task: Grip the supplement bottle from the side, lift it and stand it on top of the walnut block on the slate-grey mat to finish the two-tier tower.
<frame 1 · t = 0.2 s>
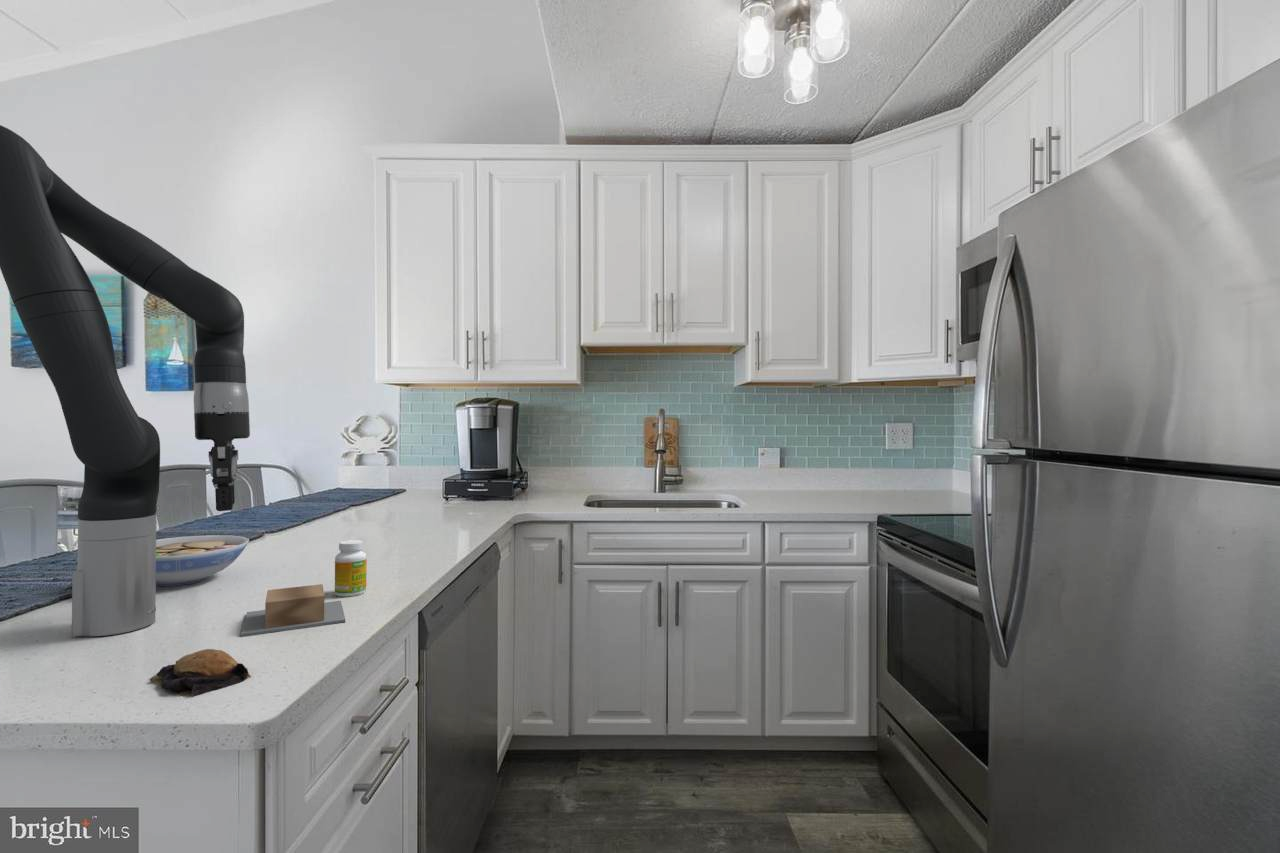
hand: (225, 507, 100), 18 cm above the countertop, tool pointing down, fingers open, 8 cm apart
ramen bowl: (181, 582, 120), on the countertop
supplement bottle: (350, 594, 113), on the countertop
mat: (295, 618, 98), on the countertop
bread roll: (202, 683, 75), on the countertop
walnut block: (295, 617, 97), resting on mat
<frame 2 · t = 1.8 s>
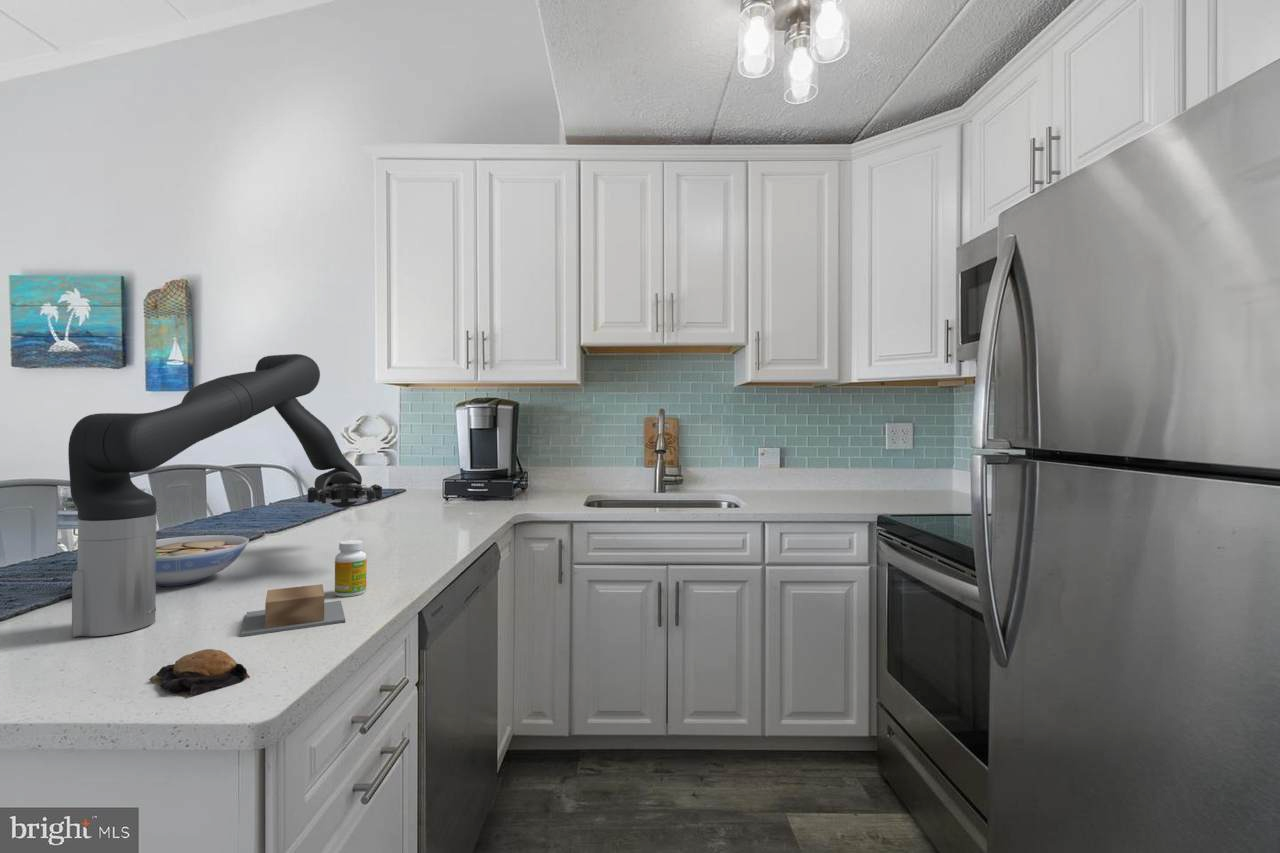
hand: (347, 497, 122), 17 cm above the countertop, tool horizontal, fingers open, 8 cm apart
nothing on the countertop moved.
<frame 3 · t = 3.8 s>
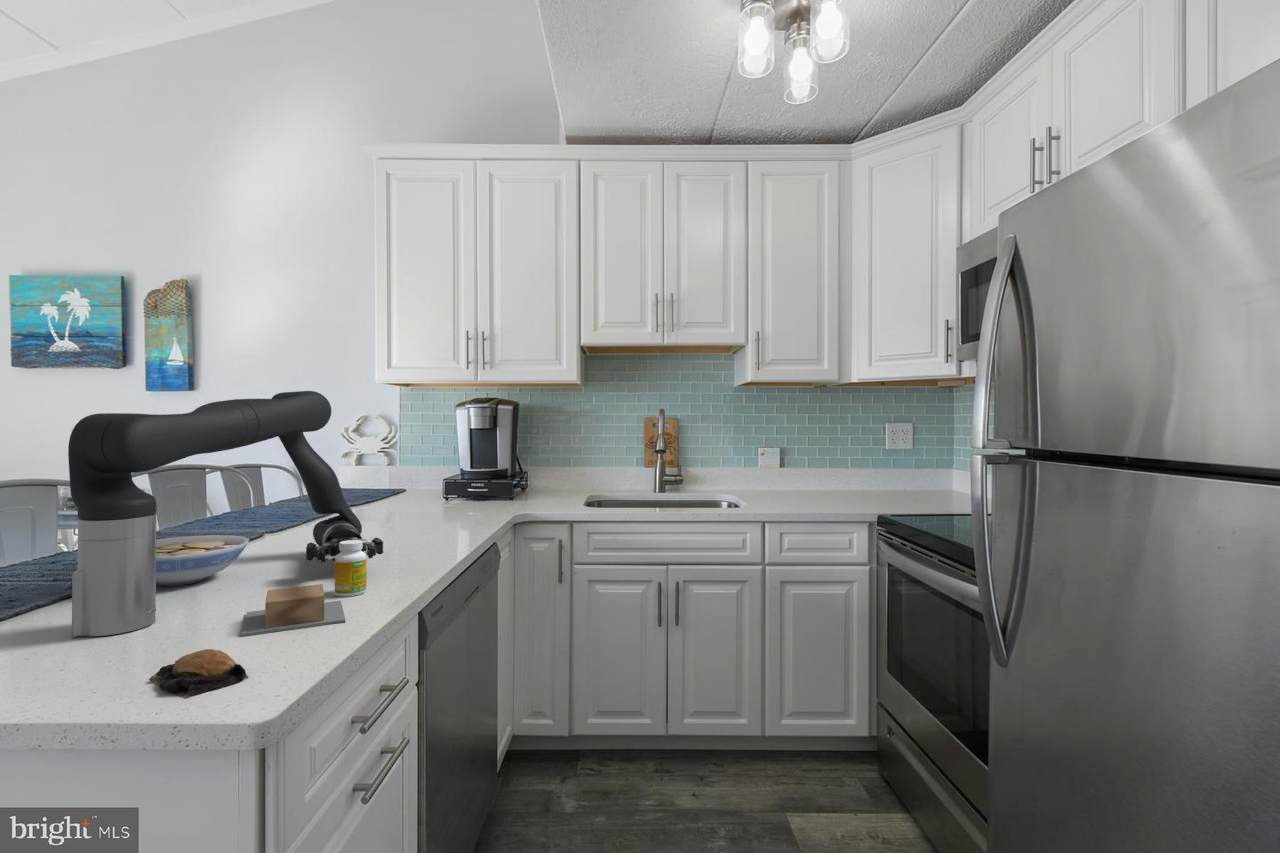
hand: (347, 555, 118), 6 cm above the countertop, tool horizontal, fingers open, 8 cm apart
nothing on the countertop moved.
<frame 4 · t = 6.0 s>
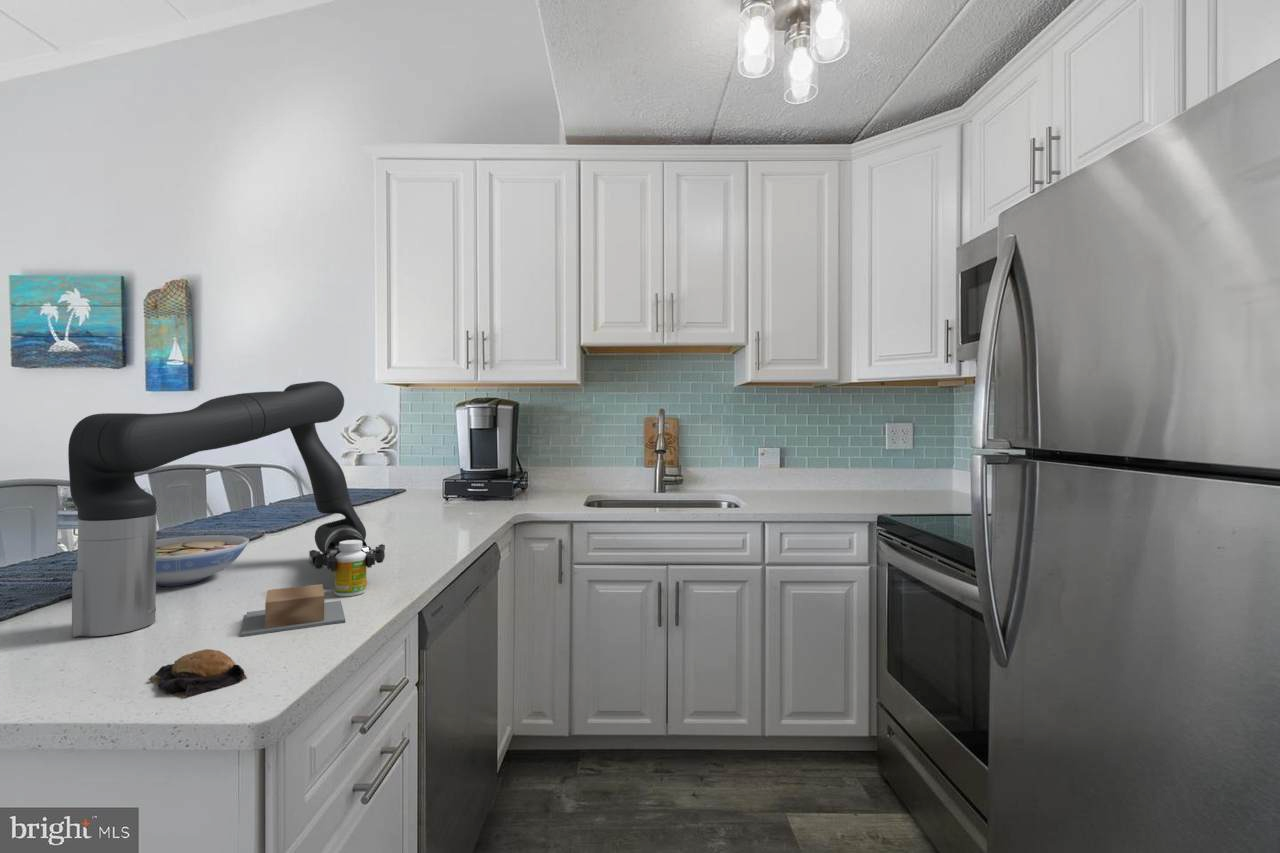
hand: (352, 563, 111), 6 cm above the countertop, tool horizontal, fingers closed on supplement bottle, 5 cm apart
supplement bottle: (350, 594, 113), on the countertop, touching gripper
everything else where it was.
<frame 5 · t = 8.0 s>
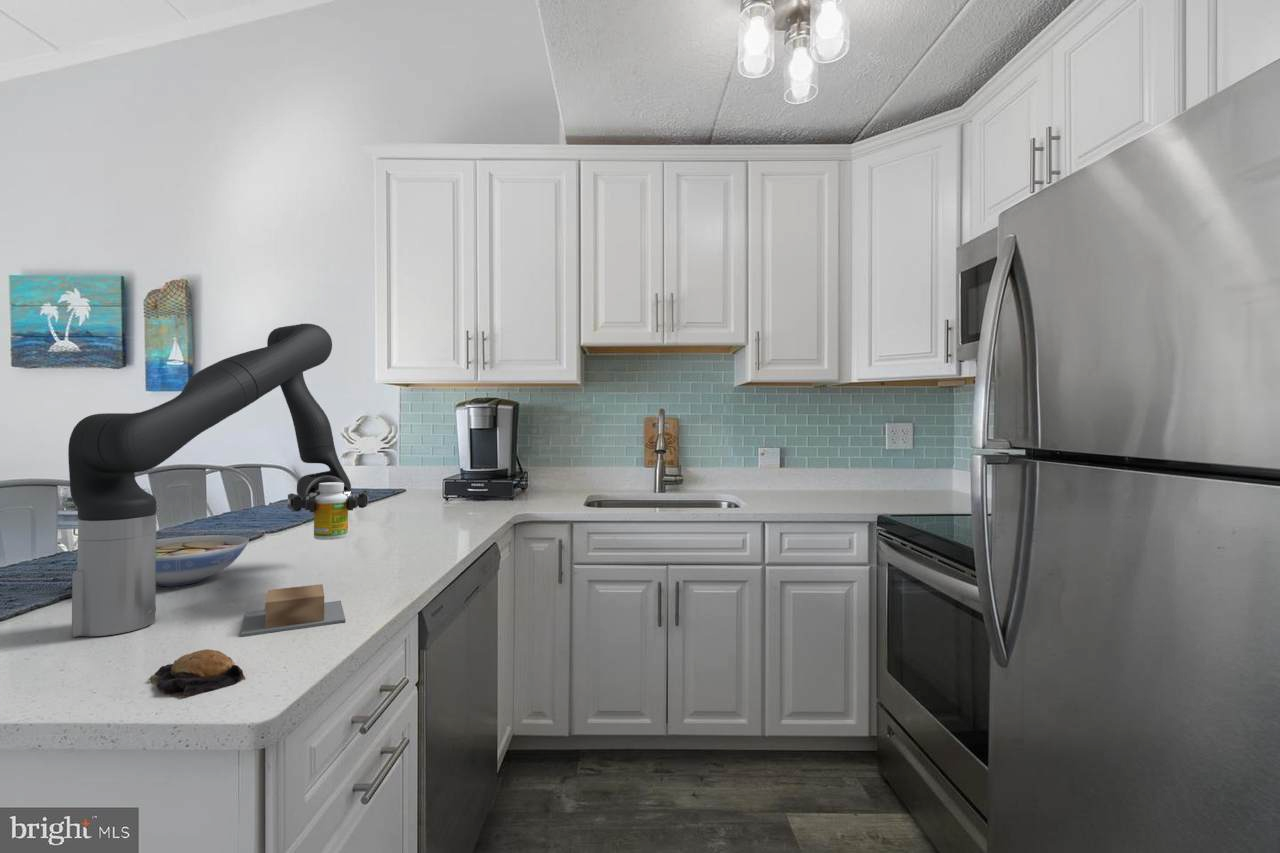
hand: (332, 505, 104), 18 cm above the countertop, tool horizontal, fingers closed on supplement bottle, 5 cm apart
supplement bottle: (330, 538, 107), point 11 cm above the countertop, touching gripper
everything else where it was.
when the fingers open (11 cm above the countertop, at t = 10.5 s): supplement bottle stays where it is, resting on walnut block.
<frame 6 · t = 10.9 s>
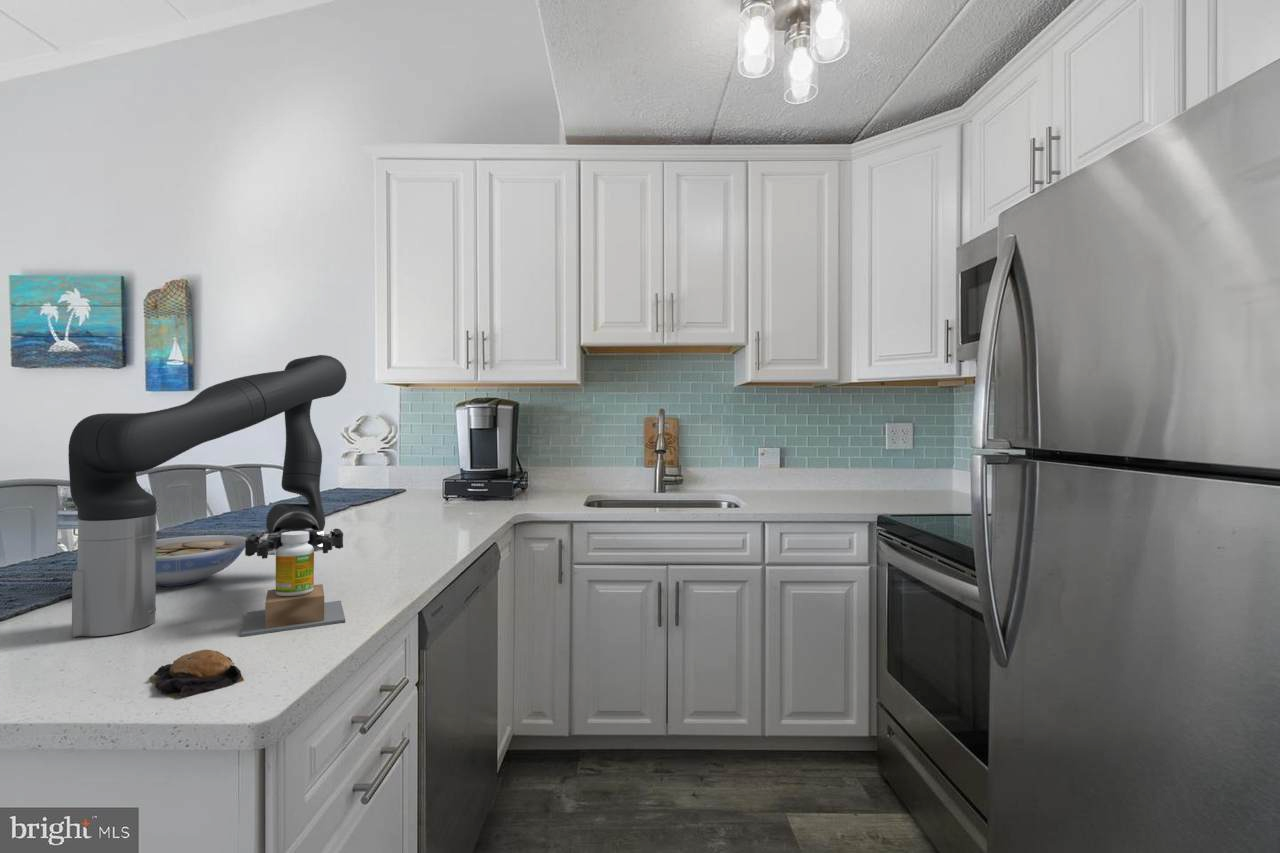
hand: (295, 549, 95), 12 cm above the countertop, tool horizontal, fingers open, 8 cm apart
supplement bottle: (294, 593, 97), point 4 cm above the countertop, touching walnut block
walnut block: (295, 617, 97), resting on mat, touching supplement bottle
everything else where it was.
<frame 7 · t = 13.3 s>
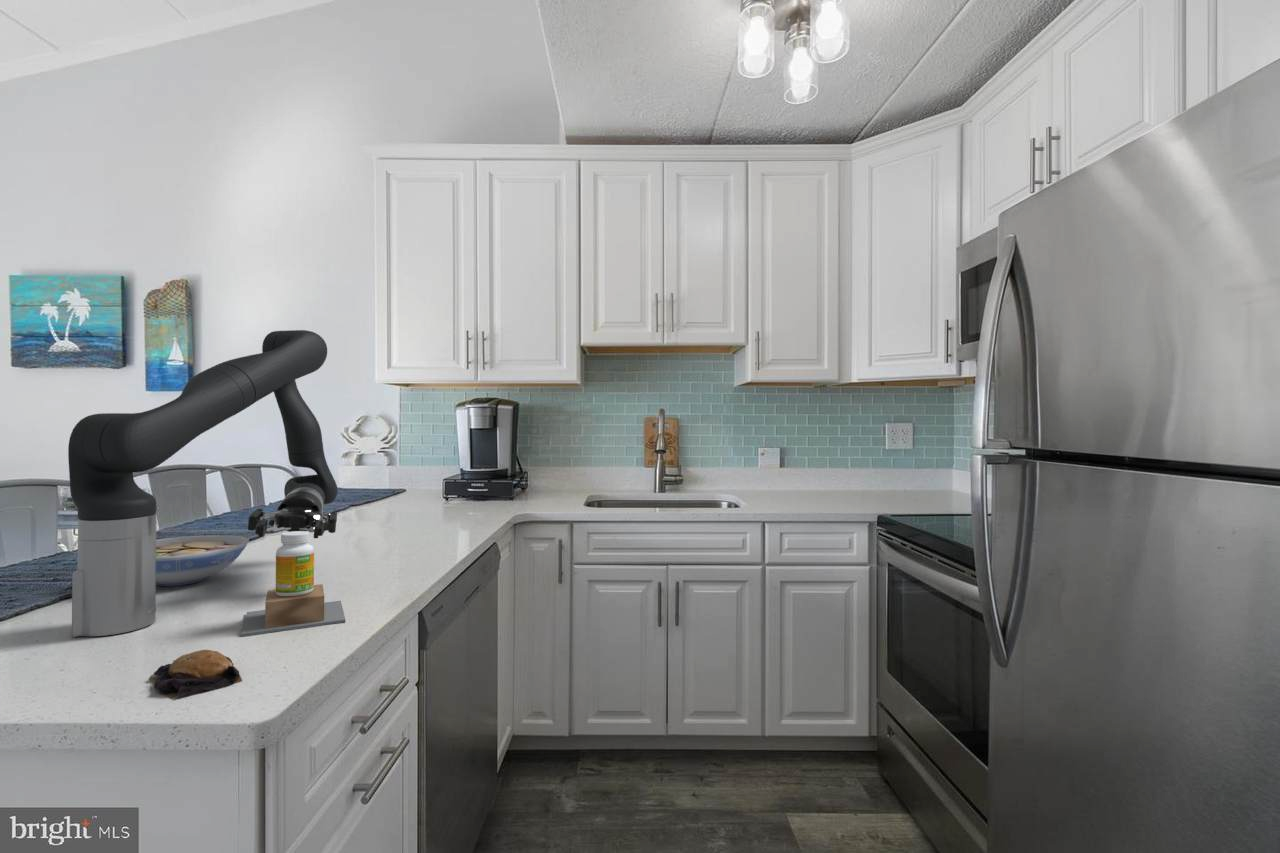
hand: (289, 532, 106), 13 cm above the countertop, tool horizontal, fingers open, 8 cm apart
nothing on the countertop moved.
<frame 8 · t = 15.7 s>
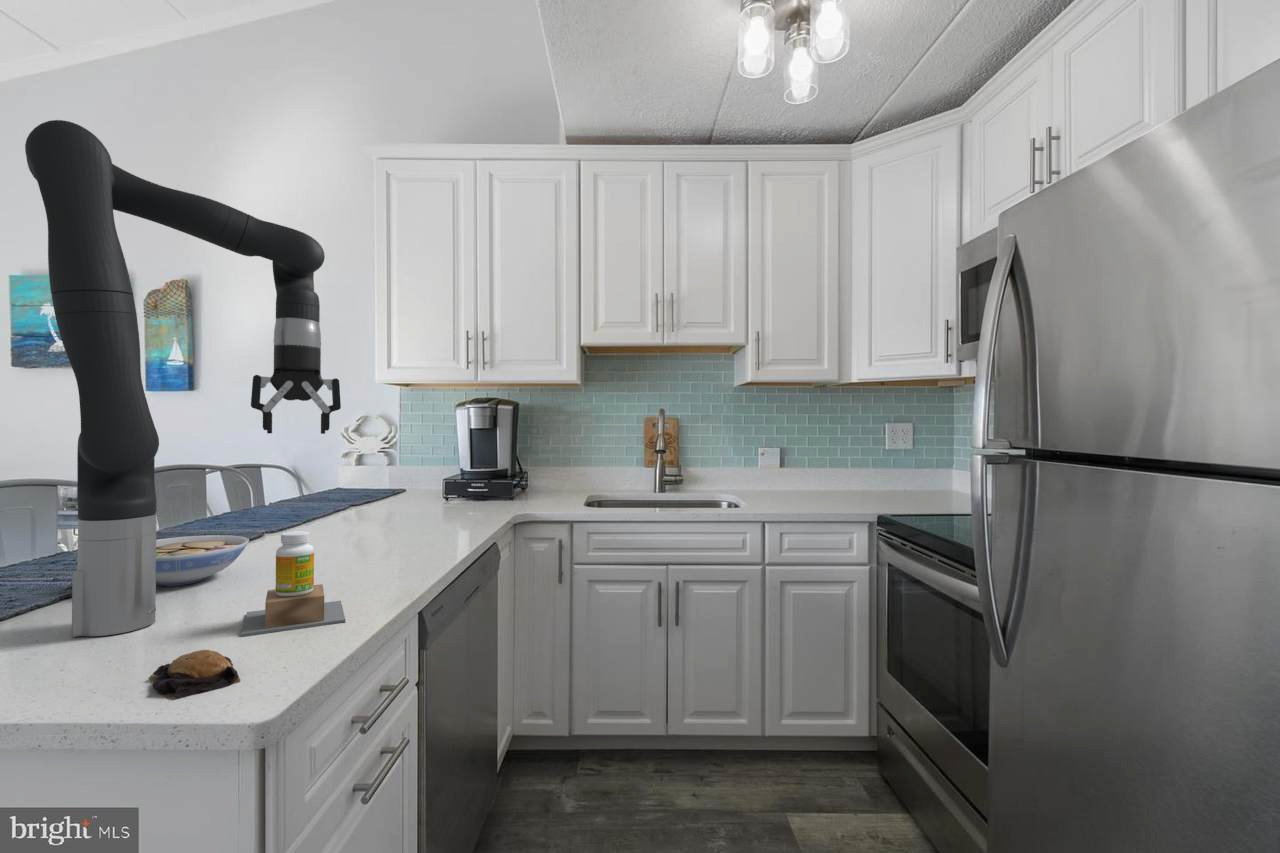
hand: (296, 433, 110), 30 cm above the countertop, tool pointing down, fingers open, 8 cm apart
nothing on the countertop moved.
at the end: supplement bottle inside the target area on the walnut block (0.1 cm from its centre), point 3.8 cm above the walnut block's base; supplement bottle tilted 0°; the gripper is holding nothing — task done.
